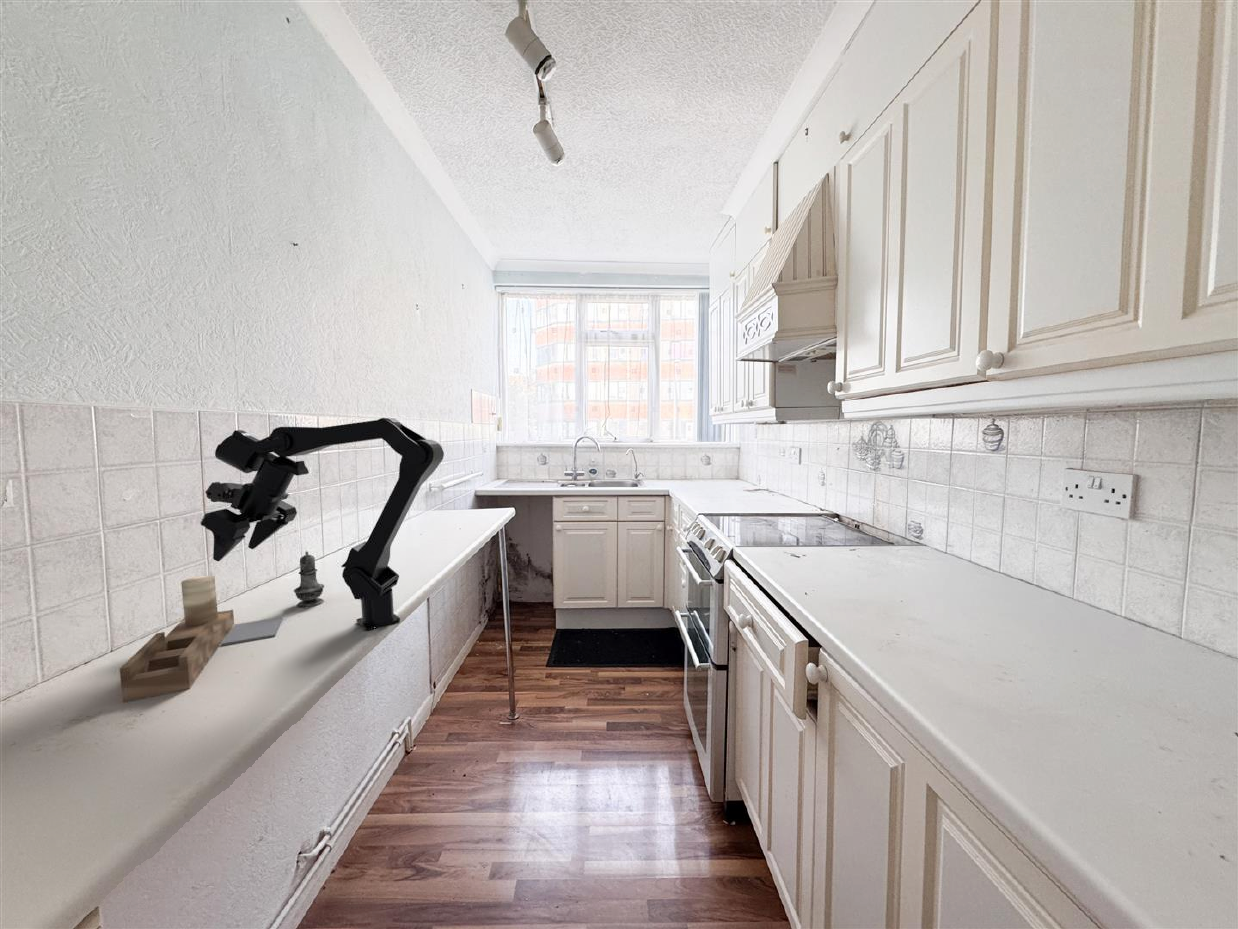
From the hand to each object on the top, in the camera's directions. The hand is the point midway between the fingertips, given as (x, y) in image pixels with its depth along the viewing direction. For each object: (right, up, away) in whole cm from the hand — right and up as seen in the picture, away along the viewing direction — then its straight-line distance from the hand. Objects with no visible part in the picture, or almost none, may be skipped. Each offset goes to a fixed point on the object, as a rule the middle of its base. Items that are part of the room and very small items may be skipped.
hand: (234, 553), depth 96 cm
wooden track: (+1, -16, -11) cm, 19 cm away
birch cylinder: (-4, -12, -3) cm, 13 cm away
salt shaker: (+6, -14, +14) cm, 21 cm away
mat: (+5, -15, -1) cm, 16 cm away
